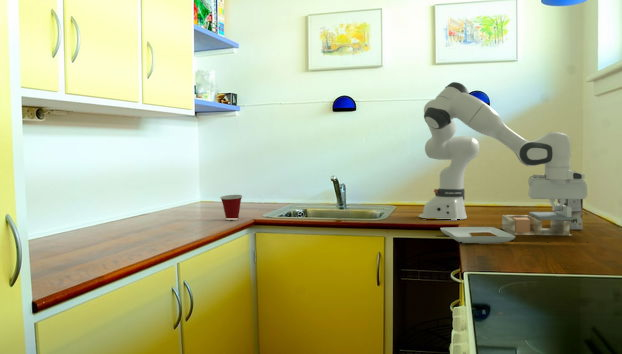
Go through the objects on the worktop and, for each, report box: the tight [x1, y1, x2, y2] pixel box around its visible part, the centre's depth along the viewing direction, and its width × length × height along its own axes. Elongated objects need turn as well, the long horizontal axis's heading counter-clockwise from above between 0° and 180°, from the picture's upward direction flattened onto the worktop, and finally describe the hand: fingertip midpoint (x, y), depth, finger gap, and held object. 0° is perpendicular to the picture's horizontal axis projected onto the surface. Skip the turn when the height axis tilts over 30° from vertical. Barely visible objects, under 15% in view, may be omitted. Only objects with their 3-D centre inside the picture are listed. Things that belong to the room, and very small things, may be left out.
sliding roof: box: [528, 203, 572, 221], centre depth 185 cm, size 11×14×4 cm
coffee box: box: [557, 199, 584, 230], centre depth 199 cm, size 9×6×16 cm
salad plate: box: [439, 226, 516, 244], centre depth 178 cm, size 21×21×3 cm
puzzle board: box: [501, 214, 572, 236], centre depth 186 cm, size 22×14×6 cm
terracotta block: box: [513, 218, 530, 233], centre depth 187 cm, size 5×5×5 cm
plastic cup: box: [219, 194, 243, 219], centre depth 237 cm, size 11×11×12 cm
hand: (557, 210), depth 184 cm, fingers closed
